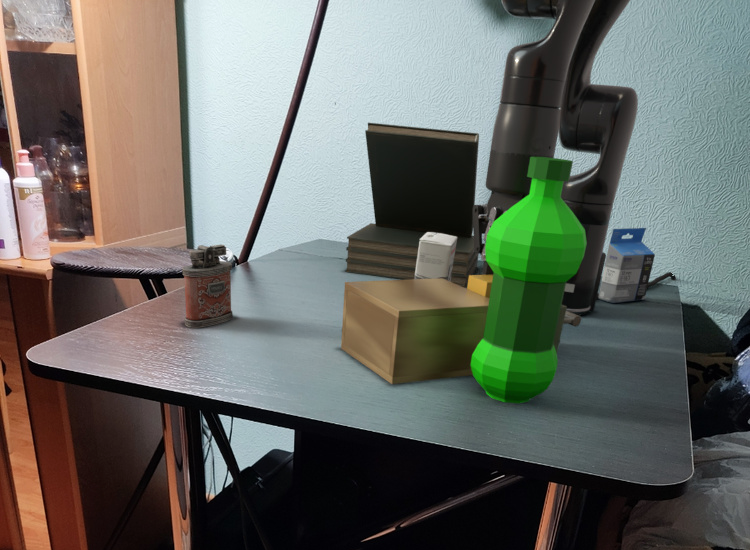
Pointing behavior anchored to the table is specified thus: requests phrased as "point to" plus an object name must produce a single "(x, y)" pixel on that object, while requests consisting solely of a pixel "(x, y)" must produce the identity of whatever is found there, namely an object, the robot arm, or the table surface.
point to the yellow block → (480, 284)
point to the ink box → (435, 256)
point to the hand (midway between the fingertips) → (498, 294)
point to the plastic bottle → (528, 286)
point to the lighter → (207, 287)
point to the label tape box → (626, 267)
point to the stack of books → (417, 200)
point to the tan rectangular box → (413, 327)
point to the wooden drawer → (564, 318)
